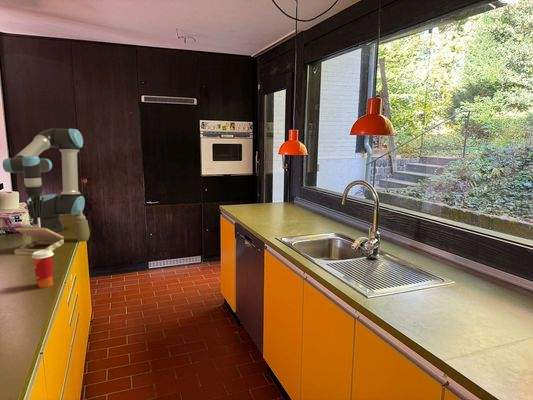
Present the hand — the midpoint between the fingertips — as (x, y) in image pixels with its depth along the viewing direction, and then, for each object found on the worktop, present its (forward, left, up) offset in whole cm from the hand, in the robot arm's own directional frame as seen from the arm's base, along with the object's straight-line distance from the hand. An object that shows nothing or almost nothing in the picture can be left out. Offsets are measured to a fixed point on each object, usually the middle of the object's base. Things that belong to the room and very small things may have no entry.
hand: (37, 230), depth 197 cm
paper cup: (+49, +28, -11) cm, 58 cm away
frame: (-1, 0, -11) cm, 11 cm away
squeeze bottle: (-17, +15, -11) cm, 26 cm away
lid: (-2, 0, -3) cm, 4 cm away
